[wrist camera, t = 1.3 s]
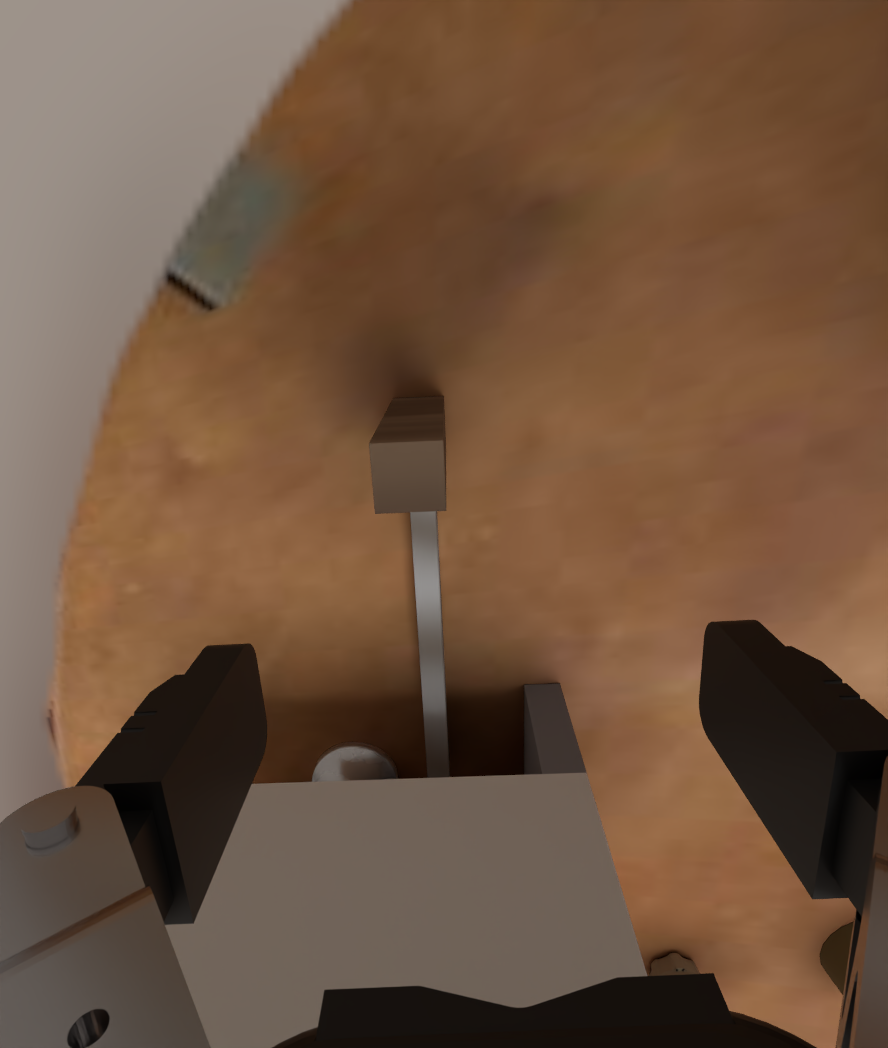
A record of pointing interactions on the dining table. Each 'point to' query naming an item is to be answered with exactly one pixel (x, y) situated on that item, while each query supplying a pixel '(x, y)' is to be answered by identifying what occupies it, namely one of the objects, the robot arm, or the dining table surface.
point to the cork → (837, 955)
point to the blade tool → (419, 539)
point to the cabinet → (410, 892)
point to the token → (354, 763)
